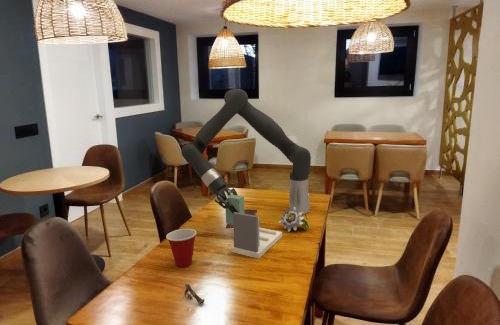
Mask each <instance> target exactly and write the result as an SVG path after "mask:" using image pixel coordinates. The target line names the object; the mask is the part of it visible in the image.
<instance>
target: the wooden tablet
mask: <svg viewBox="0 0 500 325" xmlns="http://www.w3.org/2000/svg"><path fill="white" fill-rule="evenodd" d="M257 213H258V210H257V209H244V214H248V215H254V216H257ZM225 229H233V225H231V224H226V225H225Z"/></svg>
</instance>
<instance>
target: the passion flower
mask: <svg viewBox="0 0 500 325" xmlns="http://www.w3.org/2000/svg"><path fill="white" fill-rule="evenodd" d="M304 216H305V217H304ZM305 218H306V220H305ZM308 219H309V217H308V216H307V213H306V214H303V211H301V212H296V207H295V206H294V207H293V208H292V209H287V208H286V210H285V209H284V211H283V213H282V216H281V219H279V220H277V223H278V224H283V229H284V230H286V229H287V233H289V232H291V231H292V230H294V231H297V230H298V225H301V226H302V228H303V230H304V232H305V231H306V232H307V230H308V229H309V228H310V226H309V223H308V221H307V220H308Z"/></svg>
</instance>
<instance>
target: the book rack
mask: <svg viewBox="0 0 500 325" xmlns="http://www.w3.org/2000/svg"><path fill="white" fill-rule="evenodd" d="M232 229H233V231H232V232H233V245H232V246H231V248H230V252H231V253H235V254H239V255H243V256H247V257H251V258H254V259H260V258H261V257H262V256H263V255H265V253H266V252H268V251H269V249H271V248H272V247H273V246H274V245H275V244H276V243H277V242H278V241H279V240H280V239H282V237H283V231H280V230H275V229H274V230H273V229H268V228H263V227H260V217H259V216H258V215H255V216H254V215H248V214H242V213H237V212H234V213H233V228H232Z"/></svg>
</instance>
